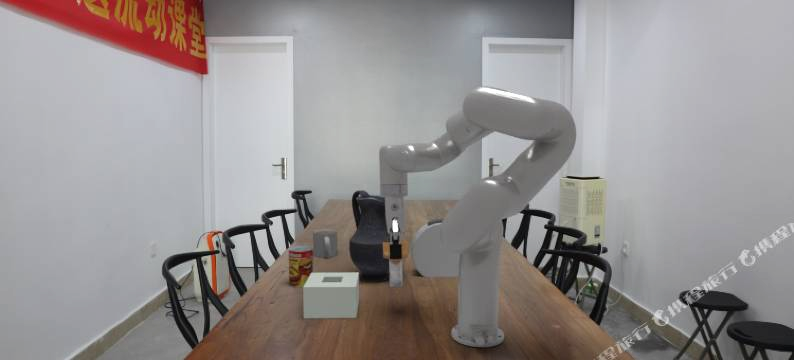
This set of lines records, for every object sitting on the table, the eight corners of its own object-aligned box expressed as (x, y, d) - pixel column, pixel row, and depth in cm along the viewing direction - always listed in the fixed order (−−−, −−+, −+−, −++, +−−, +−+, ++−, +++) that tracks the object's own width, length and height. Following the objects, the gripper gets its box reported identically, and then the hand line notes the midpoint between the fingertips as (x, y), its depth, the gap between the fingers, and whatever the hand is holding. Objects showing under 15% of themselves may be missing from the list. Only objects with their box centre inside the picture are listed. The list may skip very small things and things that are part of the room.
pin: (409, 288, 125) (408, 244, 124) (383, 289, 124) (382, 244, 124) (407, 281, 131) (407, 239, 131) (383, 282, 131) (382, 240, 131)
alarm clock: (468, 270, 172) (469, 217, 170) (472, 276, 164) (473, 220, 163) (410, 271, 171) (411, 217, 169) (412, 277, 164) (412, 221, 162)
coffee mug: (315, 252, 201) (314, 229, 200) (338, 251, 201) (338, 229, 200) (310, 259, 187) (310, 235, 187) (335, 259, 188) (335, 235, 187)
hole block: (356, 317, 125) (356, 286, 124) (303, 318, 125) (303, 287, 124) (358, 300, 139) (358, 272, 138) (311, 300, 138) (311, 272, 138)
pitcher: (368, 288, 150) (368, 195, 148) (334, 274, 166) (333, 190, 164) (409, 278, 161) (409, 192, 159) (373, 266, 177) (373, 187, 175)
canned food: (285, 283, 156) (284, 247, 155) (306, 279, 161) (305, 244, 160) (296, 289, 150) (295, 252, 149) (317, 284, 155) (317, 248, 154)
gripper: (409, 193, 118) (411, 262, 119) (406, 188, 135) (407, 249, 136) (379, 193, 118) (381, 263, 119) (380, 188, 135) (381, 249, 136)
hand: (395, 255), depth 127 cm, fingers closed on pin, 6 cm apart
